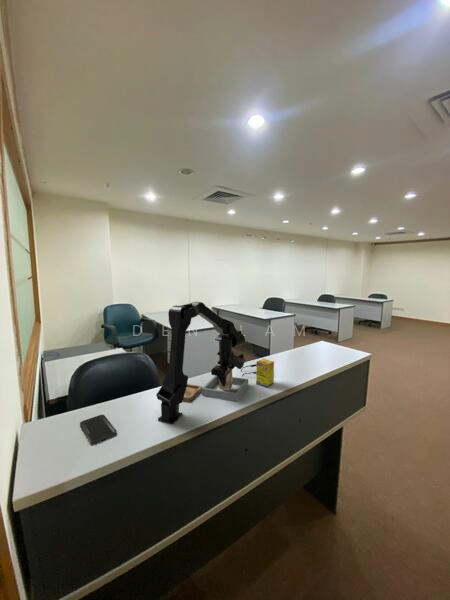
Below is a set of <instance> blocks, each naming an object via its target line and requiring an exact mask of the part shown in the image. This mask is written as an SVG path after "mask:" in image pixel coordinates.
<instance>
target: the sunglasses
mask: <svg viewBox="0 0 450 600" xmlns="http://www.w3.org/2000/svg"><path fill="white" fill-rule="evenodd" d="M249 367H250V368H255V367H256V363H255V364H251V365H246V366H243V367H242V368H241V369H240V373H241V372H242V371H243V369H245V368H249ZM247 374H254V375H256V371H252V372H244V373H243V374H242V375H241V376H242V377H244V376H245V375H247Z"/></svg>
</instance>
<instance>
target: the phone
mask: <svg viewBox="0 0 450 600" xmlns="http://www.w3.org/2000/svg"><path fill="white" fill-rule="evenodd" d="M79 427H80V429H81V431H82V432H83V434H84V436H85V438H86V439H88V440H87V441H88V443H89V444H90V445H91V444H92V446H93V444H94V445H97V444H99V443H101V442H103V441H102V440H104V439H106V440H109V439H111V438H113V437H116V436H117V429H116V428H115V427H114V425H113V424H112V423H111V422H110V420H109V419H108V418H107V417H106V416H105V414H100V415H99V414H98V415H96V416H93V417H90V418H88V419H84V420H82V421H80V422H79ZM108 438H109V439H108ZM100 441H101V442H100ZM98 442H99V443H98ZM96 443H97V444H96Z"/></svg>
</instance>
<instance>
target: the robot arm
mask: <svg viewBox="0 0 450 600" xmlns="http://www.w3.org/2000/svg"><path fill="white" fill-rule="evenodd" d="M198 316H200V318H202V319H204V320H205V321H207V322H208V323H209V324H211V325H212V326H213V329H214V330H215V331H216V332H217V333H218V335H217V337H216V338H215V339H214V340H215V341H217V342H218V352H217V356H218V361H217V365H215V366H214V367H212V369H211V370H210V374H211V376H215V375H216V376H218V378H219V380H220V382H221V384H222V386H224V387H225V385H226V377H227V375H228V374H229V373H230V372H228V369H232V370H233V369H234V368H237V370H242V368H243V367H244V365H245V363H246V358H245V354H244V353H240V354H239V355H238V354H235V351H234V350H233V348H236V347H239V346H242V345H243V344H245V342H246V338H245V335H244V334H243V333H242V330H237V329H236V327H235V323H234V322H233V321H230V320H228V319H226V318H222V317H221V316H219V314H217V313H215V312H214V311H213V310H212V309H211V308H209V307H208V306H206V304H205V303H203V302H202V301H201V302H200V301H193V302H190V303H187V304H182V305H173V306H171V307H170V308H169V309H168V316H167V317H168V323H169V326H170V328H171V336H170V337H171V339H170V350H169V351H170V352H169V363H168V370H167V372H166V374H165V375H164V377H163V381H162V384H161V387H160V388H159V390H158V392H156V394H155V395H156V398H157V400H159V401H160V402H161V403H160V410H161V413H160V414H161V415H160V417H158V418H157V421H158V422H164V423H168V424H171V425H172V424H173V425H174V424H175V423H176V422H177V421H178V420H179V419H180V418H181V417H182V416H183V414H184V413H183V412H180V404H182V403H183V402H184V401H183V398H184V394H185V391H186V387H188V385H187V384H188V381H189V375H186V374H185V373H184V371H183V370H184V369H183V367H184V357H185V348H186V347H185V345H186V332H187V330H188V328H189V327H190V326H191V323H192V319H194V318H196V317H198Z"/></svg>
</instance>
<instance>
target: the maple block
mask: <svg viewBox="0 0 450 600" xmlns="http://www.w3.org/2000/svg"><path fill="white" fill-rule="evenodd" d="M228 372H230V373H229V374H228V375H227V377H226V385H225V387H224V386H222V384H221V382H220V380H219V382H218V385H219V387H218V388H219V389H218V390H221V391H227V392H230V390H231V389H232V387H233V384H232V377H233V369H228Z"/></svg>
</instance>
